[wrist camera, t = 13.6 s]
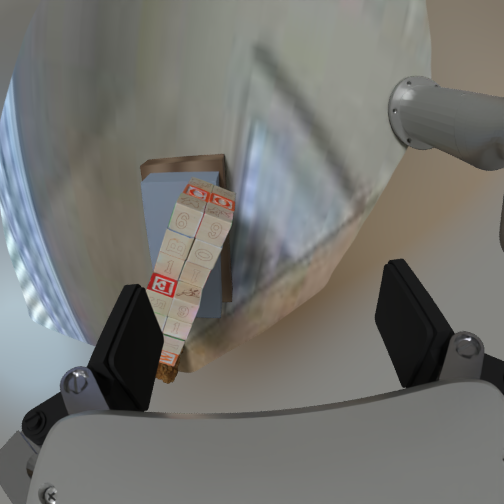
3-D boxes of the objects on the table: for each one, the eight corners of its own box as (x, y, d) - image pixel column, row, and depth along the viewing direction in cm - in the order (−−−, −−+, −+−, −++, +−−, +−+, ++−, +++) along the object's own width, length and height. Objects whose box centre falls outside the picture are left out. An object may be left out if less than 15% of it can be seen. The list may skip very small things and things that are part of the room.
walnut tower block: (224, 153, 44) (222, 159, 40) (232, 286, 57) (231, 302, 53) (149, 159, 44) (140, 166, 40) (170, 287, 57) (166, 302, 53)
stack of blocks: (190, 174, 36) (169, 213, 26) (236, 192, 38) (234, 238, 27) (149, 296, 46) (129, 354, 36) (185, 308, 48) (173, 368, 37)
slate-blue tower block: (218, 171, 41) (215, 181, 37) (222, 300, 53) (220, 318, 49) (150, 173, 41) (140, 182, 37) (167, 298, 52) (162, 315, 49)
